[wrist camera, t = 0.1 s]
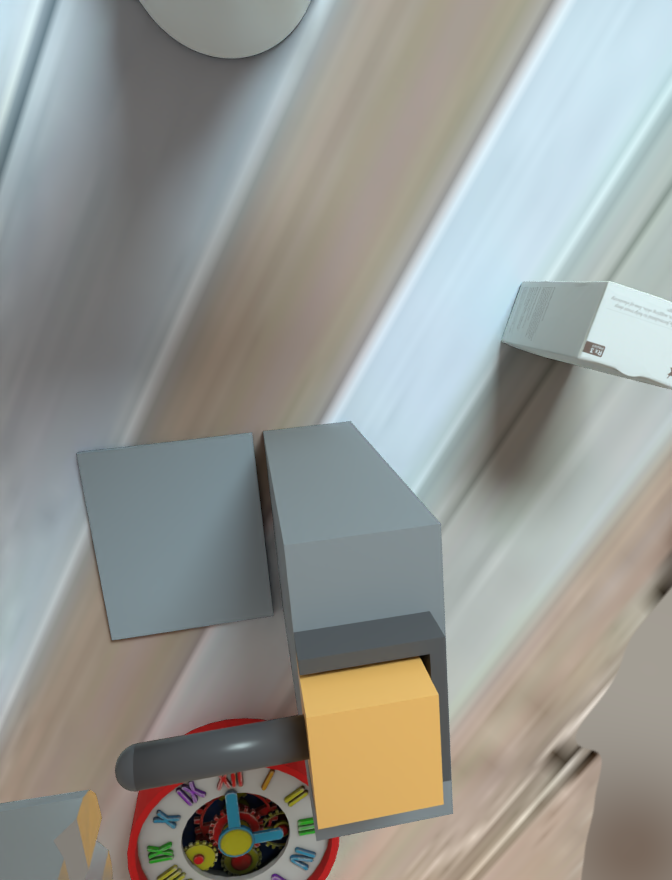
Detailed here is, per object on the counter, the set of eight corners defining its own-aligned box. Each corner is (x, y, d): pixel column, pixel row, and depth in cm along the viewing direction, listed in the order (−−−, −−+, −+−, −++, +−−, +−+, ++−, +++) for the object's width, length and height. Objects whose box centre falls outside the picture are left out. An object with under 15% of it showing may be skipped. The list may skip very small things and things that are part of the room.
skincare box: (595, 306, 57) (714, 311, 43) (572, 368, 58) (681, 393, 44) (516, 279, 55) (612, 274, 41) (494, 344, 57) (580, 361, 42)
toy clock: (142, 951, 59) (112, 778, 54) (150, 894, 65) (124, 733, 60) (345, 910, 62) (333, 743, 57) (336, 859, 68) (325, 703, 63)
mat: (78, 452, 53) (76, 453, 52) (251, 432, 55) (252, 434, 54) (113, 636, 57) (112, 640, 57) (273, 612, 59) (273, 615, 59)
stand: (263, 431, 55) (287, 567, 28) (350, 421, 56) (457, 542, 29) (283, 611, 59) (322, 882, 32) (364, 598, 60) (468, 851, 33)
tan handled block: (115, 682, 30) (92, 755, 25) (408, 634, 32) (438, 694, 27) (134, 782, 32) (116, 869, 27) (414, 731, 34) (443, 804, 29)
